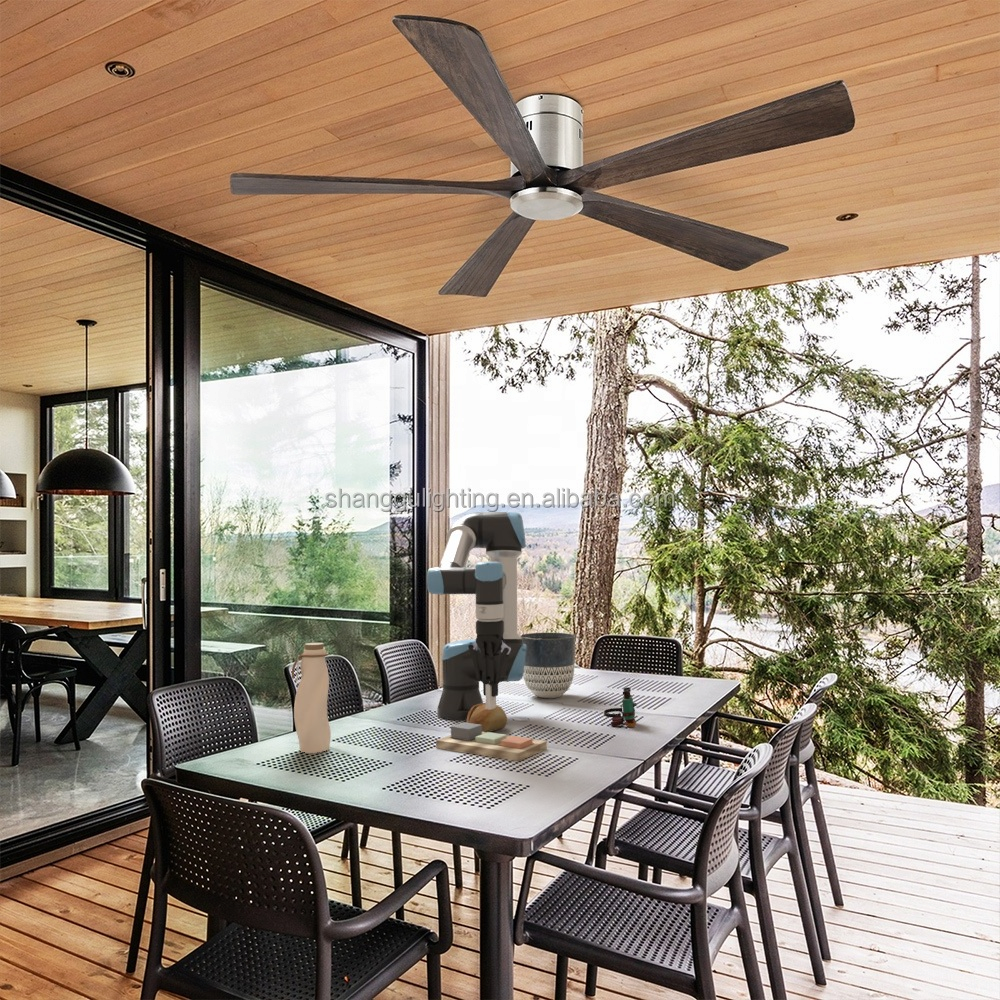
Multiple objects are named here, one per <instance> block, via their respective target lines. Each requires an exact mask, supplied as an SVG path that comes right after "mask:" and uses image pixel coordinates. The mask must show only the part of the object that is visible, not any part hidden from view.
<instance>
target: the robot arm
mask: <svg viewBox="0 0 1000 1000" xmlns="http://www.w3.org/2000/svg"><path fill="white" fill-rule="evenodd" d="M524 527H525V526H524V522H523V517H522V515H521V514H520V512H516V511H515V512H511V511H495V512H494V511H492V512H490V511H489V512H473V513H469V514H466V515H464V516H462V517H461V518H459V519H458V520H456V521H455V522H454V523H452V524H451V526H450V527H449V528H448V531H447V532H446V537H445V541H446V546H445V548H444V551H443V554H442V557H441V560H440V563H439V566H436V567H431V568H429V569H428V570H427V572H426V573H427V574H426V588H427V591H428V593H429V594H431V595H439V596H440V595H441V596H443V595H475V618H476V619H477V620H476V621H475V634H476V638H473V639H463V640H458V641H451V642H448V643H446V644H445V645H444V646H443V648H442V658H441V661H442V691H441V695H440V698H439V702H438V706H437V710H436V711H437V712H436V714H437V717H438V718H441V719H445V720H458V721H459V720H461V721H462V720H467V716H468V713H469V711H470V709H471V708H472V707H473V706H475V705H477V704H481V703H484V701H483V698H482V694H481V691H480V683H482V686H483V687H482V688H483V696H485V703H486V709H489V710H491V709H494V708H496V705H497V697H498V696H499V684H501V683H502V682H506V683H509V682H519V681H521V680H522V679H523V678H524V677H523V673H524V668H525V660H526V649H527V646H526V644H522V638H521V637H520V636H521V635H520V634H519V633H518V557H520V556H521V555H522V551H523V550H522V549H525V548H526V547H527V543H526V534H525V529H524ZM473 549H485V553H486V555H487V556H488V557H489V559H490V561H478V562H476V563H475V566H474V567H471V566H470V567H469V566H468V567H466V566H467V564H468V558H469V555H470V552H471V551H472V550H473Z"/></svg>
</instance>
